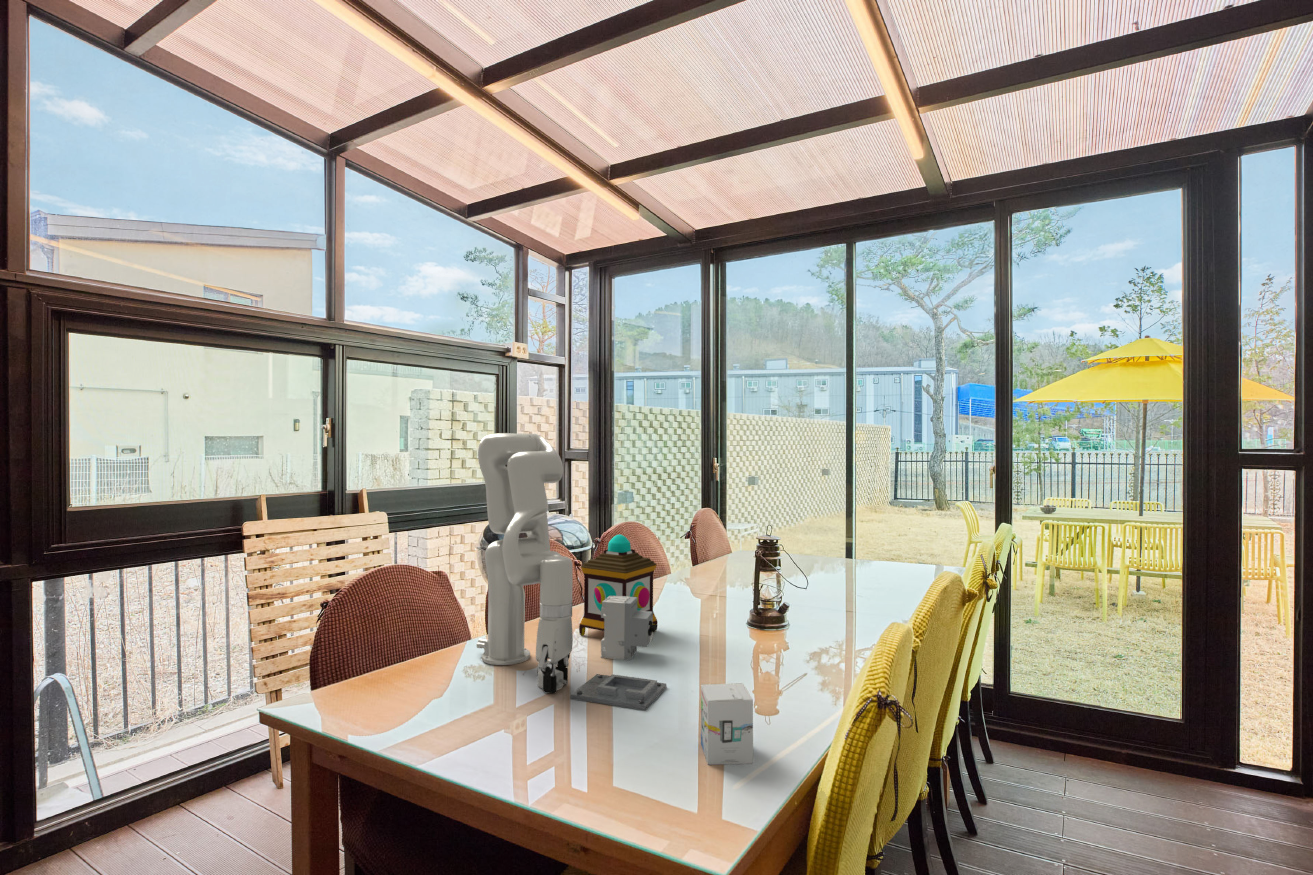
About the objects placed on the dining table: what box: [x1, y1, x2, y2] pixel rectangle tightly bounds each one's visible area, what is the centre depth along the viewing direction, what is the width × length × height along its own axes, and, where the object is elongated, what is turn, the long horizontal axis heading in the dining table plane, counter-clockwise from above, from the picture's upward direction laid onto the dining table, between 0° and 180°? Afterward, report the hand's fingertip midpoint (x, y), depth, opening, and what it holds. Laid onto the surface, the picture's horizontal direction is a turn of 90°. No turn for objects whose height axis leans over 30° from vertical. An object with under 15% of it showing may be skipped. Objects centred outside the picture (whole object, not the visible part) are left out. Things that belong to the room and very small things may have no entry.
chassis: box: [570, 673, 667, 711], centre depth 151 cm, size 18×14×2 cm
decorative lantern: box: [578, 534, 658, 636], centre depth 199 cm, size 20×20×30 cm
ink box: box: [700, 682, 754, 766], centre depth 122 cm, size 8×8×12 cm
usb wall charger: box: [537, 667, 569, 691], centre depth 153 cm, size 4×7×4 cm, turn 51°
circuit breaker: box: [600, 596, 658, 661], centre depth 178 cm, size 8×14×15 cm, turn 78°
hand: (555, 687), depth 153 cm, fingers closed on usb wall charger, 4 cm apart
